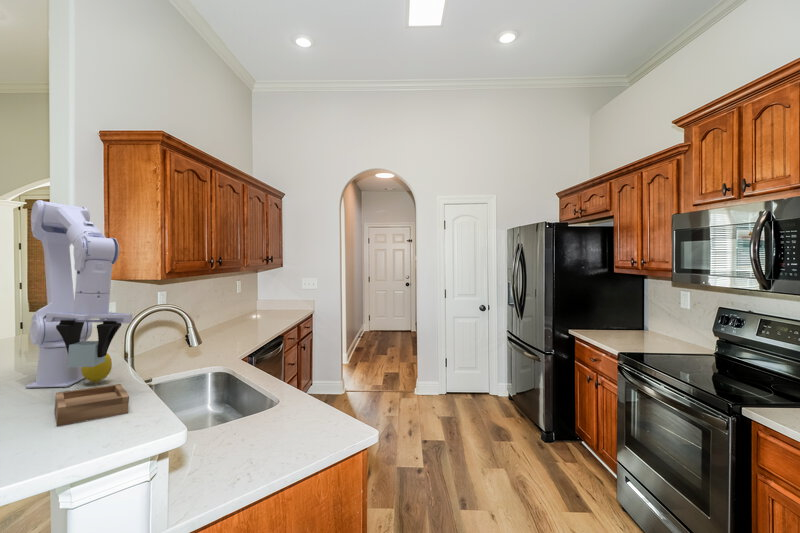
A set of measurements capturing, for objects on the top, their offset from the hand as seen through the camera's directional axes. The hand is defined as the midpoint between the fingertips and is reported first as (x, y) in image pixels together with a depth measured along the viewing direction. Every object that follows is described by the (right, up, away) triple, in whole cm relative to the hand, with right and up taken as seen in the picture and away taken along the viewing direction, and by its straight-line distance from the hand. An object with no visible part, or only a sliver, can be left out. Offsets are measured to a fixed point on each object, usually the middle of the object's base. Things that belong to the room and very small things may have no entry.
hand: (87, 356), depth 76 cm
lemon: (-6, -9, +9) cm, 15 cm away
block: (0, -2, 0) cm, 2 cm away
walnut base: (+6, -9, -7) cm, 13 cm away
